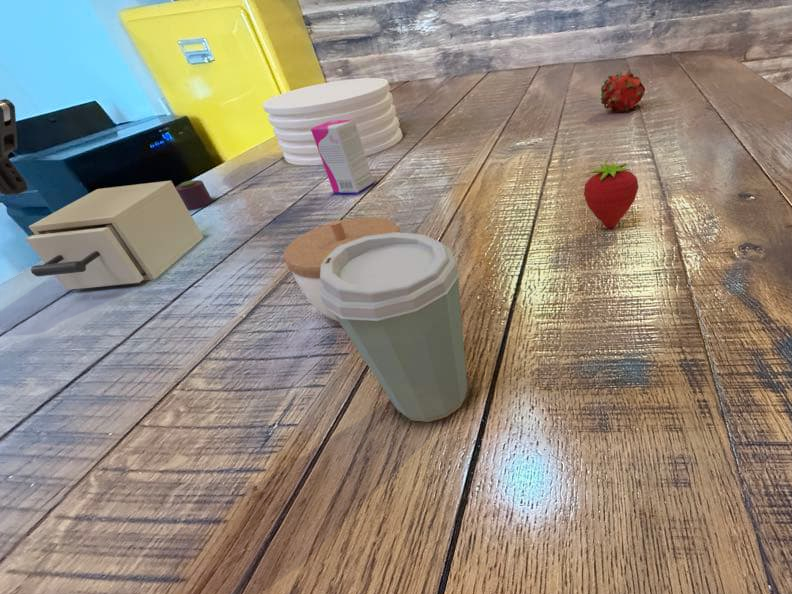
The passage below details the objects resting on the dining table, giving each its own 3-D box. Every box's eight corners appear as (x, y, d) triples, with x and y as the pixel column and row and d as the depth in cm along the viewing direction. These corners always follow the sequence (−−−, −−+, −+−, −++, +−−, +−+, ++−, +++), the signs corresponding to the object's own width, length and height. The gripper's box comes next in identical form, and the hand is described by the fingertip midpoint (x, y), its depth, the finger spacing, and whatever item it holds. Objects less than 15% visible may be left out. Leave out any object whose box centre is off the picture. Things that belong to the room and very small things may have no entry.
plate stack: (300, 175, 109) (276, 114, 101) (274, 150, 127) (252, 98, 119) (420, 141, 118) (406, 84, 111) (379, 123, 137) (365, 73, 129)
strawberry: (645, 229, 71) (647, 152, 64) (594, 241, 69) (591, 164, 63) (627, 215, 75) (628, 141, 68) (579, 226, 74) (575, 152, 67)
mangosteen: (181, 211, 99) (167, 188, 96) (194, 202, 103) (181, 179, 100) (205, 209, 98) (192, 185, 96) (217, 199, 102) (206, 176, 99)
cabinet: (155, 280, 76) (112, 217, 69) (77, 288, 77) (28, 226, 70) (204, 238, 87) (171, 180, 80) (135, 246, 88) (97, 189, 81)
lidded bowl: (311, 304, 65) (272, 219, 58) (407, 275, 68) (381, 191, 61) (322, 354, 56) (277, 261, 49) (432, 319, 59) (405, 226, 52)
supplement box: (376, 184, 98) (355, 118, 91) (358, 196, 94) (335, 128, 87) (351, 184, 100) (329, 119, 93) (333, 195, 96) (308, 128, 89)
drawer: (119, 299, 70) (78, 245, 65) (43, 307, 71) (-3, 254, 66) (188, 242, 84) (159, 194, 78) (123, 249, 84) (90, 202, 79)
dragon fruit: (596, 123, 119) (639, 120, 124) (614, 103, 112) (659, 101, 116) (588, 86, 119) (631, 85, 123) (606, 63, 111) (651, 62, 115)
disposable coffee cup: (492, 362, 51) (460, 216, 41) (486, 439, 43) (445, 280, 33) (389, 373, 52) (333, 231, 42) (364, 450, 44) (289, 298, 34)
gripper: (-28, 7, 54) (86, 176, 66) (-139, 24, 55) (-8, 187, 67) (-94, 14, 48) (43, 198, 60) (-216, 33, 50) (-58, 210, 61)
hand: (16, 192), depth 63 cm, fingers closed
